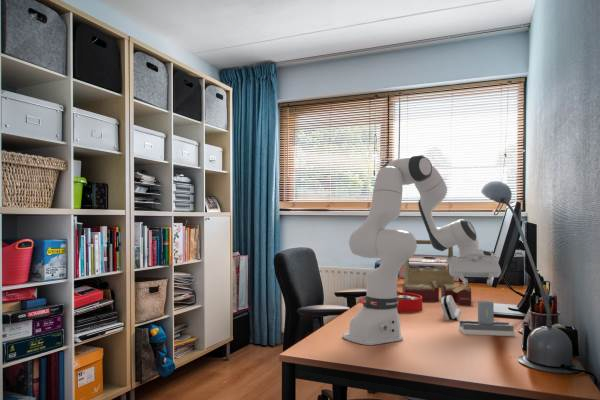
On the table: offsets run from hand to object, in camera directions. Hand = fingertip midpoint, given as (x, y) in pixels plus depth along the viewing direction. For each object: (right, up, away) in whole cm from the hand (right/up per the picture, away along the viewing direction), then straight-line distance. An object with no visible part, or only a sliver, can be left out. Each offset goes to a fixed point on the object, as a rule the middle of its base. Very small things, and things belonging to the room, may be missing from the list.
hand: (477, 283), depth 178 cm
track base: (-1, -16, -11) cm, 20 cm away
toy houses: (-6, -19, +51) cm, 54 cm away
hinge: (-6, -18, +16) cm, 24 cm away
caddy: (+10, -21, +103) cm, 105 cm away
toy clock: (-24, -18, +33) cm, 44 cm away
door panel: (-1, -15, -11) cm, 19 cm away
